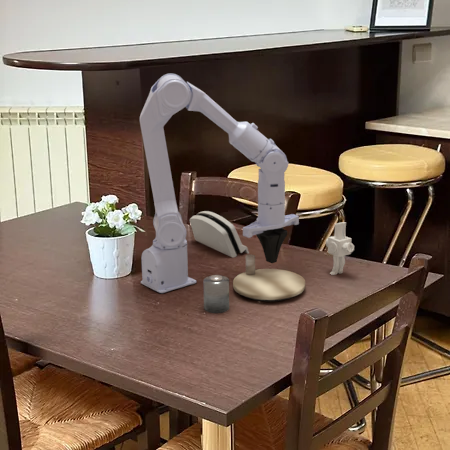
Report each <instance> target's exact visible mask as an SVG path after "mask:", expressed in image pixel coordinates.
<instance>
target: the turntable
mask: <svg viewBox="0 0 450 450" xmlns="http://www.w3.org/2000/svg"><path fill="white" fill-rule="evenodd" d="M232 283H233V284H232V287H233V290H234V291H235V292H236V293H238V295H241V296H243V297H245V296H246V297H245V298H247V297H249V298H254V299H261V300H279V299H286V298H290V297H292V298H293V297H296V296H298V295H301V294H302V293H303V292H304V291H305V289H306V280H305V278H304V277H303V276H301V275H300V274H298V273H296V272H293V271H290V270H285V269H279V268H278V269H277V268H261V269H256V255H254V254H246V255H245V272H242V273H239V274H238V275H237V276H235V277H234V279H233V282H232ZM249 298H248V299H249ZM290 299H291V298H290Z"/></svg>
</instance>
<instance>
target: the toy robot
mask: <svg viewBox="0 0 450 450" xmlns="http://www.w3.org/2000/svg"><path fill="white" fill-rule="evenodd" d="M346 226H347V222H345V221H343V222H337V223H336V222H335V223H334V235H333V236H332V235H331V236H329V237H327V238H326V240H325V246H326V247H327V253H328V254H329V255H332V256H333V257H332V261H333V264H332V265H333V267H332V270H331V271H330V272H329V274H331V276H335V275H337V274H343V273H344V272H343V271H344V267H345V264H346V258H345V257H346V256H349V255H352V253H353V252H354V251H355V245H354V244H353V243H352V238H351V237H348V236H346V229H347V227H346Z"/></svg>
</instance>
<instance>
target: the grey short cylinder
mask: <svg viewBox="0 0 450 450" xmlns="http://www.w3.org/2000/svg"><path fill="white" fill-rule="evenodd" d="M203 309H204V311H205V312H208V313H210V314H211V313H212V314H223V313H226V312H227V311H229V310H230V279H229V277H227V276H225V275H220V274H213V275H209V276H206V277H204V279H203Z"/></svg>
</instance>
